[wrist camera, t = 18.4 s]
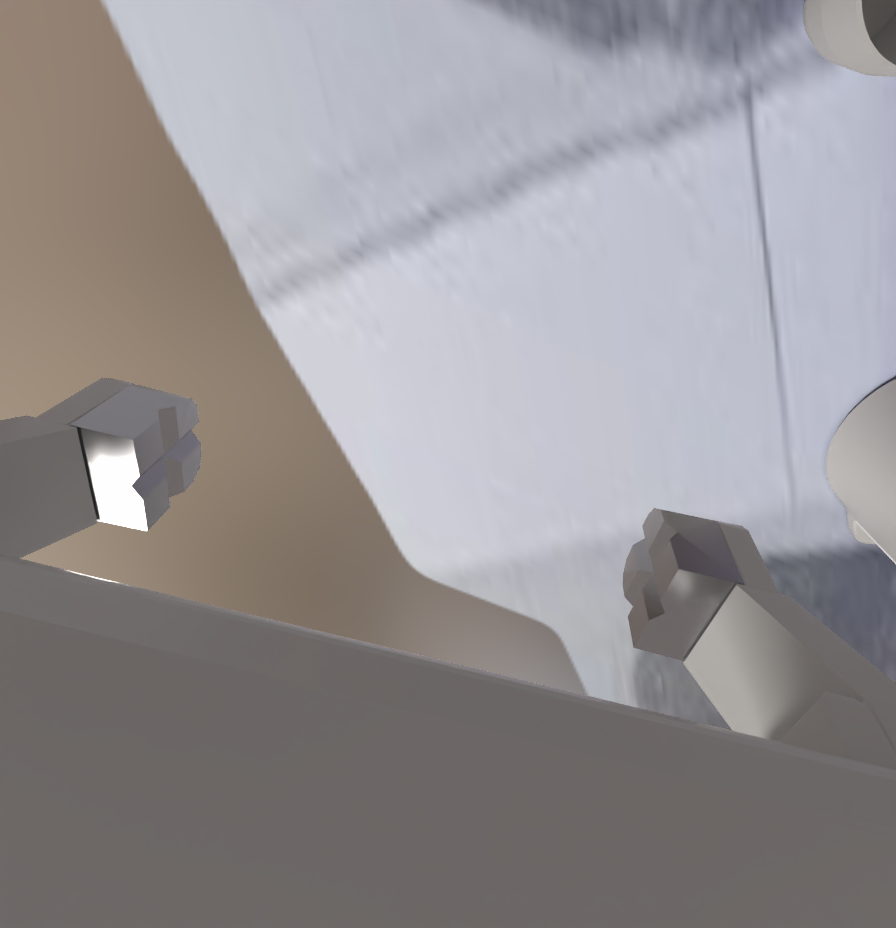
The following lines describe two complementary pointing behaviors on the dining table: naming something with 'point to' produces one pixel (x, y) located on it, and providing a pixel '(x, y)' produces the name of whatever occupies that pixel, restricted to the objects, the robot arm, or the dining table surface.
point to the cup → (854, 33)
